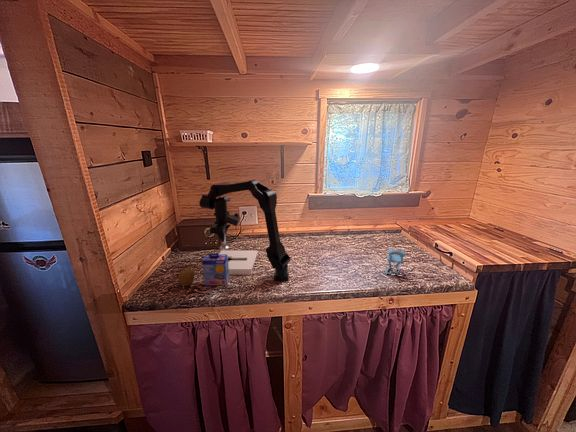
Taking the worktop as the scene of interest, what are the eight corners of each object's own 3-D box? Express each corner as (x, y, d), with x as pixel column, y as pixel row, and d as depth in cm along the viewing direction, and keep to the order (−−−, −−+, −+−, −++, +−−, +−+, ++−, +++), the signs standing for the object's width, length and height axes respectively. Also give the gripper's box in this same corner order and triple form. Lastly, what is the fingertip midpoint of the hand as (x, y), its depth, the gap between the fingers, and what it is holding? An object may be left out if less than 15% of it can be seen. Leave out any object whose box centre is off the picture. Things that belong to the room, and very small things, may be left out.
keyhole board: (251, 274, 106) (251, 269, 105) (208, 274, 106) (208, 268, 106) (258, 255, 125) (257, 250, 124) (221, 255, 126) (221, 250, 125)
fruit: (197, 281, 101) (195, 265, 99) (191, 289, 95) (189, 272, 93) (184, 281, 101) (181, 264, 99) (176, 289, 95) (174, 272, 93)
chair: (401, 268, 111) (404, 246, 108) (403, 277, 103) (407, 253, 100) (384, 266, 113) (387, 243, 110) (385, 274, 106) (388, 250, 103)
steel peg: (227, 250, 111) (226, 232, 109) (218, 250, 111) (216, 232, 109) (229, 246, 116) (228, 229, 113) (221, 246, 116) (219, 229, 113)
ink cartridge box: (204, 286, 97) (200, 255, 93) (207, 279, 103) (204, 249, 99) (227, 285, 98) (224, 254, 94) (229, 278, 103) (227, 248, 99)
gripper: (232, 215, 99) (235, 248, 103) (242, 205, 117) (243, 234, 121) (207, 215, 99) (210, 248, 104) (220, 205, 117) (223, 234, 121)
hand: (223, 240), depth 112 cm, fingers closed on steel peg, 2 cm apart
